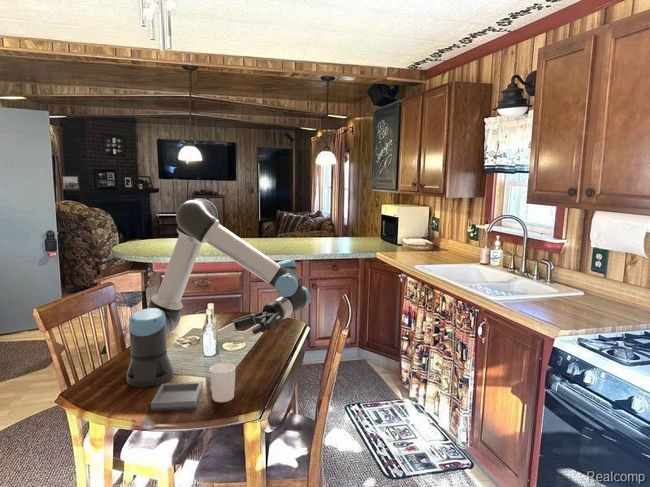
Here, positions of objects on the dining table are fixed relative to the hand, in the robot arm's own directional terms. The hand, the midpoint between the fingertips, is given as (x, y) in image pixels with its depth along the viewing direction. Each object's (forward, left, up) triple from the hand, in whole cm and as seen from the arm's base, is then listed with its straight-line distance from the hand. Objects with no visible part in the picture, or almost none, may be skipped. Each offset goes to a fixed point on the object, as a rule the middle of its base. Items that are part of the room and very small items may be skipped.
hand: (231, 335), depth 147 cm
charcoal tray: (+6, -16, -18) cm, 25 cm away
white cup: (+6, -2, -19) cm, 20 cm away
